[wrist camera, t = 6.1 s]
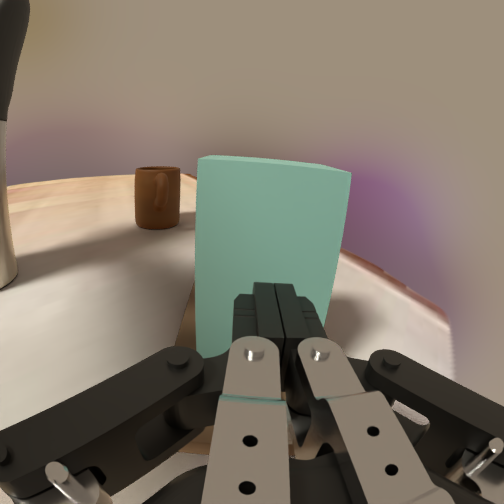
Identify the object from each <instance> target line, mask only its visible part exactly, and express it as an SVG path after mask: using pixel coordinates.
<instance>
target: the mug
mask: <svg viewBox="0 0 504 504" xmlns="http://www.w3.org/2000/svg"><path fill="white" fill-rule="evenodd" d="M179 212H180V168H177V167H164V166H163V167H162V166H160V167H158V166H157V167H142V168H137V169H136V172H135V220H136V224H137V225H138V226H139V227H141V228H145V229H166V228H170V227H173V226H175V225H177V224H178V222H179Z"/></svg>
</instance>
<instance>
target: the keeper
mask: <svg viewBox="0 0 504 504" xmlns="http://www.w3.org/2000/svg"><path fill="white" fill-rule="evenodd" d="M351 175H352V173H350V172H346V171H343V170H339V169H336V168H332V167H328V166H324V165H320V164H312V163H304V162H294V161H285V160H275V159H263V158H251V157H236V156H218V155H217V156H216V155H210V156H207V157H203V158H199V159H198V171H197V193H196V225H195V321H196V351H197V352H198V353H199V354H200V355H201V356H202V358H210V357H215V356H218V355H221V354H223V353H224V352H226V351H227V350H228V349H229V348H230V346H231V344H232V325H233V307H234V299H235V298H236V297H237V296H238V295H239V294H252V292H253V283H254V282H266V283H287V284H293V286H294V289H295V292H296V295H297V296H305V297H306V298H308V299H309V300H310V301H311V302H312V303H313V304H314V306H315V309H316V313H317V314H318V316H319V319H320V321H321V323H322V326H323V328H324V324H325V319H326V315H327V311H328V306H329V302H330V297H331V293H332V288H333V283H334V279H335V274H336V269H337V263H338V258H339V253H340V247H341V242H342V236H343V230H344V224H345V218H346V210H347V204H348V198H349V191H350V183H351Z"/></svg>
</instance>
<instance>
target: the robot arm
mask: <svg viewBox="0 0 504 504" xmlns="http://www.w3.org/2000/svg"><path fill="white" fill-rule="evenodd" d="M29 14H30V4H29V0H0V288H2V287H4V286H5V285H7V284H8V283H10V282H11V281H12V280H13V279H14V278H15V276H16V275H17V273H18V268H17V263H16V258H15V253H14V247H13V241H12V234H11V227H10V219H9V210H8V199H7V185H6V149H5V148H6V125H7V124H6V123H7V122H6V121H7V112H8V107H9V104H10V100H11V96H12V92H13V86H14V80H15V74H16V70H17V65H18V61H19V57H20V54H21V50H22V47H23V43H24V39H25V36H26V32H27V27H28V22H29ZM281 392H285V393H286V401H285V400H284V399H281ZM395 400H397V401H399V402H401V403H402V404H404V405H406V406H408V407H409V408H411V409H413V410H415V411H416V412H418V413H420V414H422V415H424V416H425V417H427V418H428V420H429V423H428V424H427V425H418V424H416V423H415V422H413V421H411V420H409V419H408V418H406V417H404V416H402V415H401V414H399V413H397V412H396V411H394V410H392V409H391V407H392V405H393V404H394V402H395ZM287 424H288V428H289V432H290V436H291V440H292V444H293V448H294V452H295V459H293V458H289V455H288V433H287ZM212 425H214V430H213V436H212V442H211V448H210V453H209V459H208V465H204V466H200V467H197V468H194V469H192V470H189V471H187V472H185V473H183V474H181V475H180V476H178V477H176V478H175V479H173V480H172V481H171V482H169V483H168V484H167V485H166V486H164V487H163V488H162V489H160V490H159V491H158V492H157V493H155V494H154V495H153V496H151V497H150V498H149V499H147V500H146V501H145V502H143V503H142V504H504V407H503V406H501V405H499V404H497V403H495V402H493V401H491V400H489V399H487V398H485V397H483V396H481V395H479V394H477V393H475V392H473V391H472V390H469V389H467V388H466V387H463V386H462V385H460V384H458V383H456V382H454V381H452V380H450V379H448V378H446V377H444V376H442V375H440V374H438V373H437V372H435V371H433V370H431V369H429V368H427V367H425V366H423V365H421V364H419V363H417V362H416V361H414V360H412V359H410V358H408V357H406V356H404V355H402V354H400V353H398V352H396V351H393V350H387V349H383V350H377V351H375V352H374V353H372V354H371V356H370V358H369V361H366V360H360V359H354V358H349V357H346V355H345V354H344V352H343V350H342V348H341V347H340V346H339V345H338V344H337V343H335V342H333V341H331V340H329V339H328V338H327V336H326V333H325V331H324V328H323V326H322V323H321V321H320V319H319V316H318V314H317V313H316V309H315V306H314V304H313V303H312V302H311V301H310V300H309V299H308V298H306V297H305V296H297V295H296V292H295V289H294V286H293V284H287V283H266V282H254V283H253V292H252V294H239V295H238V296H237V297H236V298H235V299H234V307H233V325H232V344H231V346H230V348H229V349H228V350H227V351H226V352H224V353H223V354H221V355H218V356H215V357H210V358H202V356H201V355H200V354H199V353H198V352H197V351H195V350H194V349H191V348H188V347H183V346H173V347H168V348H165V349H163V350H161V351H159V352H157V353H155V354H153V355H152V356H150V357H148V358H146V359H144V360H142V361H141V362H139V363H137V364H135V365H133V366H131V367H129V368H127V369H126V370H124V371H122V372H120V373H118V374H116V375H114V376H112V377H110V378H109V379H107V380H105V381H103V382H101V383H99V384H97V385H95V386H93V387H91V388H89V389H87V390H85V391H83V392H81V393H79V394H77V395H75V396H73V397H71V398H69V399H67V400H65V401H63V402H61V403H59V404H57V405H55V406H53V407H51V408H49V409H47V410H45V411H42V412H40V413H38V414H36V415H34V416H32V417H30V418H28V419H25V420H23V421H21V422H19V423H17V424H14V425H12V426H10V427H8V428H6V429H3V430H1V431H0V488H1V489H2V490H3V491H4V492H5V493H6V494H7V495H8V496H10V497H11V499H12V500H13V502H14V504H113V502H112V499H111V496H113V495H114V494H116V493H118V492H119V491H121V490H122V489H124V488H126V487H127V486H129V485H130V484H132V483H133V482H135V481H136V480H138V479H139V478H141V477H142V476H144V475H145V474H147V473H148V472H150V471H151V470H153V469H154V468H155V467H157V466H158V465H160V464H161V463H162V462H164V461H165V460H167V459H168V458H169V457H171V456H172V455H173V454H175V453H176V452H177V451H179V450H180V449H181V448H183V447H184V446H185V445H187V444H188V443H189V442H190V441H192V440H193V439H194V438H196V437H197V436H198V435H199V434H201V433H202V432H203V430H204V429H205V427H207V426H212Z"/></svg>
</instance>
